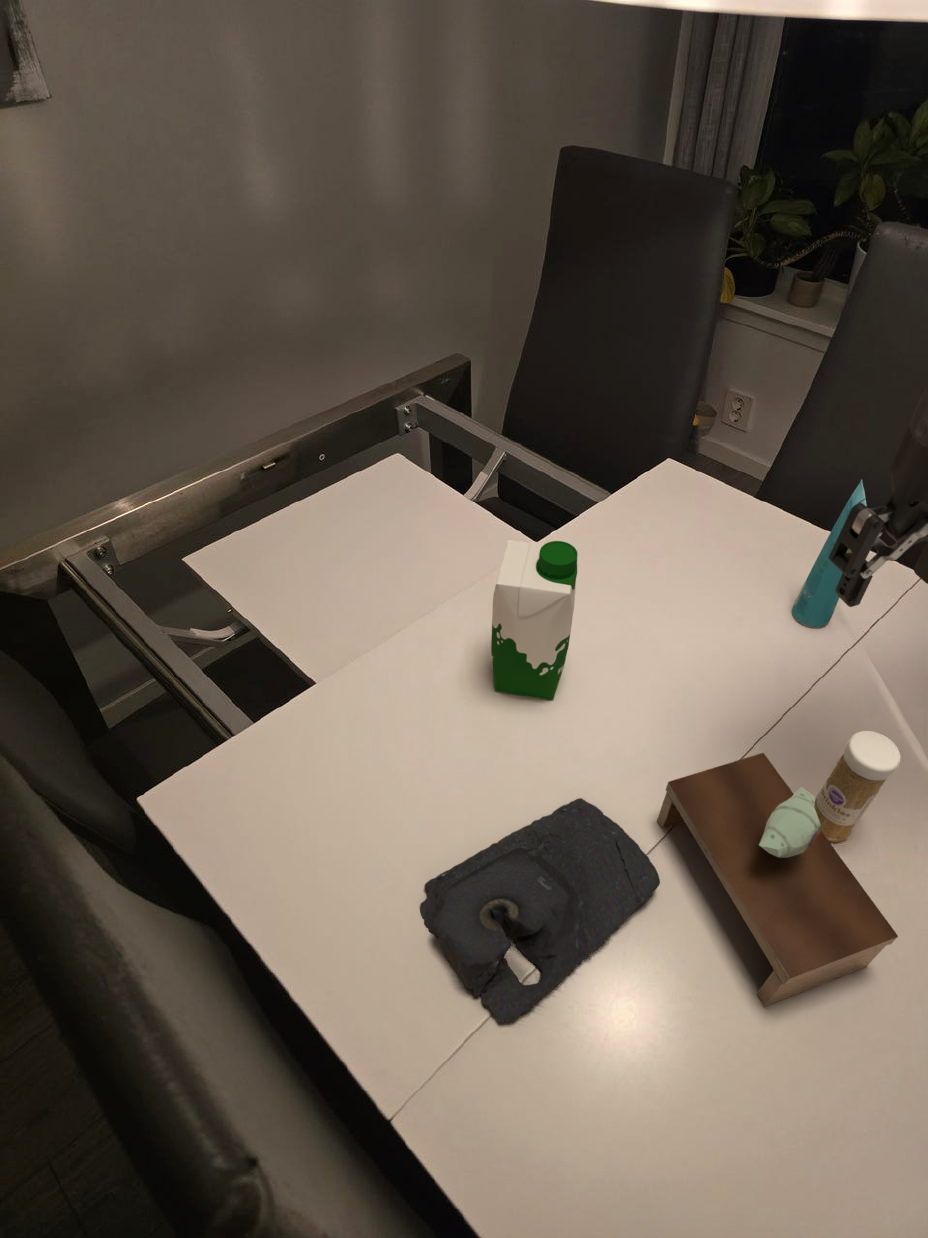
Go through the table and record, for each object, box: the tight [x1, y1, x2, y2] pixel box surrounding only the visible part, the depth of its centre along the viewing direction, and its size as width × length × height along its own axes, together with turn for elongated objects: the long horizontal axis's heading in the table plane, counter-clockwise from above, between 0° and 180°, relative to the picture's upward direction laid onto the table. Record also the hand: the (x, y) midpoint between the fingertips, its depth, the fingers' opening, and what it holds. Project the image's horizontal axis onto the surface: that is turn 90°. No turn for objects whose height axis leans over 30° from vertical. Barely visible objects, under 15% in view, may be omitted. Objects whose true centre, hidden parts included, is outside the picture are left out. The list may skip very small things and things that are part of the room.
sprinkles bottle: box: [814, 730, 901, 843], centre depth 77 cm, size 5×5×14 cm
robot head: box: [759, 786, 821, 858], centre depth 70 cm, size 8×4×7 cm, turn 137°
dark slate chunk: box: [419, 797, 661, 1023], centre depth 74 cm, size 15×22×5 cm
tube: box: [791, 479, 867, 629], centre depth 97 cm, size 7×5×19 cm, turn 169°
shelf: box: [656, 752, 899, 1007], centre depth 75 cm, size 11×20×7 cm, turn 19°
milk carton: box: [490, 539, 578, 701], centre depth 90 cm, size 9×9×20 cm
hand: (885, 588), depth 71 cm, fingers open, 8 cm apart
